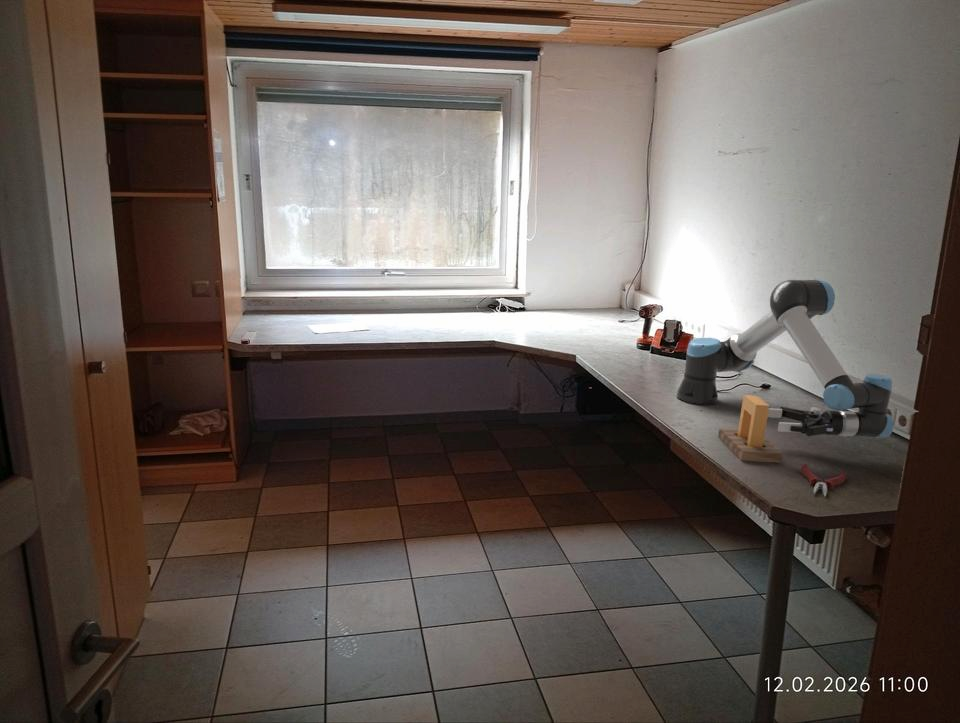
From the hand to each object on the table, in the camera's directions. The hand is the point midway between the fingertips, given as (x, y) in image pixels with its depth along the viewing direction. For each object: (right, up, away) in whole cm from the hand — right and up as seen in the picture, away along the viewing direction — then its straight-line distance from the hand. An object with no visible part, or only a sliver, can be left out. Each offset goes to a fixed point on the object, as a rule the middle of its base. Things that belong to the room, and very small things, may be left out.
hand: (769, 419), depth 211 cm
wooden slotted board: (-6, -9, +3) cm, 11 cm away
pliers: (+5, -17, -19) cm, 26 cm away
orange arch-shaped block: (-5, -9, +3) cm, 11 cm away
